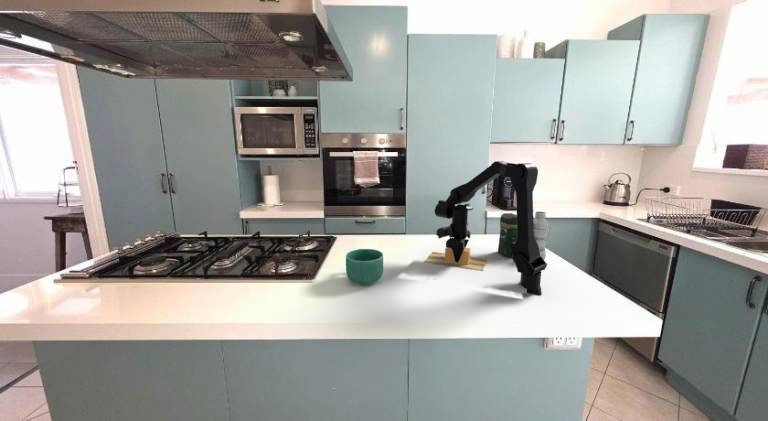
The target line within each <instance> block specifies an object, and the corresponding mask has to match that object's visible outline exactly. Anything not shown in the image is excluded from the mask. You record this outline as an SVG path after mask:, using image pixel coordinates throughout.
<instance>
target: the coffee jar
mask: <svg viewBox="0 0 768 421" xmlns="http://www.w3.org/2000/svg"><path fill="white" fill-rule="evenodd" d="M499 228H500V230H499V238H498V239H499V241H498V247H497V253H498V255H500V256H502V257H503V258H507V259H513V258H512V256H510V255H511V243H513V242H516V240H517V214H515V213H512V212H510V213H509V212H508V213H507V212H505V213H504V212H503V213H502V214H501V216H500V219H499Z"/></svg>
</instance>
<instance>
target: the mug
mask: <svg viewBox="0 0 768 421" xmlns="http://www.w3.org/2000/svg"><path fill="white" fill-rule="evenodd" d="M345 272H346V277H347V278H348V280H349V281H350V282H352V283H354V284H357V285H358V284H360V286H370V284H371V285H373V284H374V283H377V282H378V281H379V280H380V279H381V278H382V277H383V273H384V254H383V252H382V251H380V250H378V249H373V248H358V249H353V250H351V251H349V252H347V253H346V254H345Z"/></svg>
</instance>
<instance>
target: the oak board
mask: <svg viewBox="0 0 768 421" xmlns="http://www.w3.org/2000/svg"><path fill="white" fill-rule="evenodd" d="M444 260H445V252H436V251H432V252H431V253H430V254H429V255H428V257H426V259H424V261H423V263H424V264H432V265H438V266H444V267H452V268H458V269H465V270H473V271H478V272H479V271H480V272H483V271H484V269H485V266H486V263H487V260H488V259H487V258H482V257H475V256H470V262H469V264H468V265H467V264H460V263H453V262H446V261H444Z"/></svg>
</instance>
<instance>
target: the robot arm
mask: <svg viewBox="0 0 768 421" xmlns="http://www.w3.org/2000/svg"><path fill="white" fill-rule="evenodd" d="M538 175H539V168H538V167H537V166H536V165H535V164H533V163H530V162H529V163H528V162H524V163H520V162H519V163H513V162H506V161H504V160H501V161H500V160H498V161H493V162H492V164H490V165H489V166H488V167H486V168H485V169H484V170H482V172H480V173H478V174H477V175H476V176H475V177H473V178H472V179H470V180H469V181H467V182H466V183H464V184H461V185H458V186H456V187H454V188H452V189H451V190H450V194H449V195H448V197H447V199H446V200H445V199H444V200H443V199H441V200H440V199H439V200H437V201H438V202H437V204H436V206H435V207H434V214H435V216H436V217H438V218H443V219H448V220H450V219H451V223H449V225H448V226H444V227H443V226H442V227H438V229H437V230H436V234H435V236H437V238H438V239H442V238H445V237H446V238H447V237H449V238H448V239H447V240H446V241H445V248H446V247H447V248H451V249H452V250H453V254H454V258H455V262H459V260H460V257H461V255H462V253H463V250H464V248H467V247H468V246H467V245H468V243H469V239H470V238H471V233H472V232H471V231H470V230H468V226H469V222H468V212H469V211H473V210H474V208H473V206H471V204H470V203H469V202H470V201H471V200H472V199H473V198H474V197H475V195H476V193H478V191H480V189H483V187H485V186H486V185H488V184H489V183H491V182H492V181H494V180H495V179H496V178H498V177H499V176H503V177H507V178H509V179H510V184H511V186H512V188H513V190H514V192H515V197H516V198H515V200H516V201H515V203H516V205H515V206H516V215H517V240H516V242H513V243H511V255H510V256H512V258H511V259H512V261H513V262H514V263H515V268H516V271H517V273H520V282H519V285H520V286H522V287H523V288H524V289H526V293H528V294H535V295H542V294H543V292H542V288H541V287H542V286H541V282H542V280H541V279H542V278H541V277H542V272H543V271H545V270H546V269H547V266H548V264H547V262H546V260H543V258H542V257H541V256H540V252H539V247H538V244H537V242H536V240H535V238H534V225H533V220H534V199H533V198H534V196H533V195H534V190H535V187H536V185H537V181H538ZM464 203H465V204H464Z"/></svg>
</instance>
